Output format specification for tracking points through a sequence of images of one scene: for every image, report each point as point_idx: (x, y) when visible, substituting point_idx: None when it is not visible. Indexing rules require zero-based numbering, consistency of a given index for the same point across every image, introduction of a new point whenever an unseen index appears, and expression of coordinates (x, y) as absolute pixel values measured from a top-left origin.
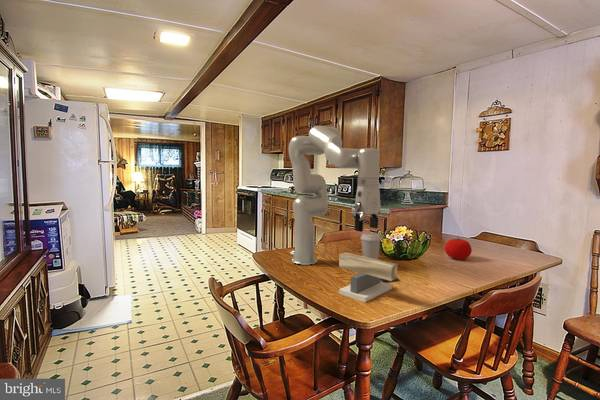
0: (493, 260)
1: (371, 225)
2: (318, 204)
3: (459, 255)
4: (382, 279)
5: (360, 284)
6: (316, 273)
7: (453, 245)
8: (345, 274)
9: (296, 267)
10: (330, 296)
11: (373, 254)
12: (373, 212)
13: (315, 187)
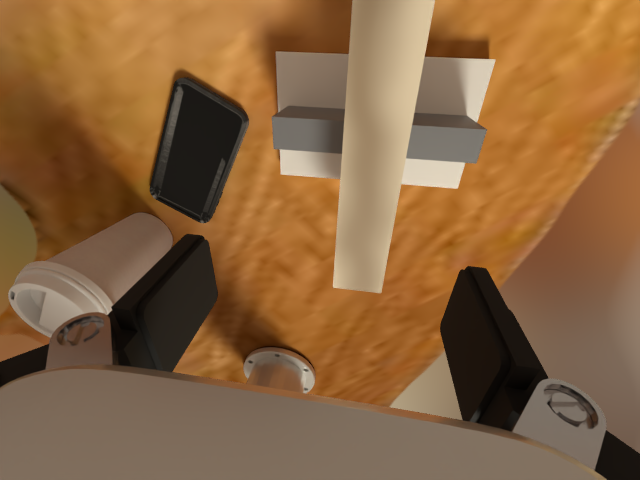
0: None
1: (208, 295)
2: None
3: None
4: (233, 129)
5: (444, 120)
6: (335, 312)
7: None
8: (279, 252)
9: (332, 364)
10: (496, 190)
11: (125, 242)
12: (293, 422)
13: None
